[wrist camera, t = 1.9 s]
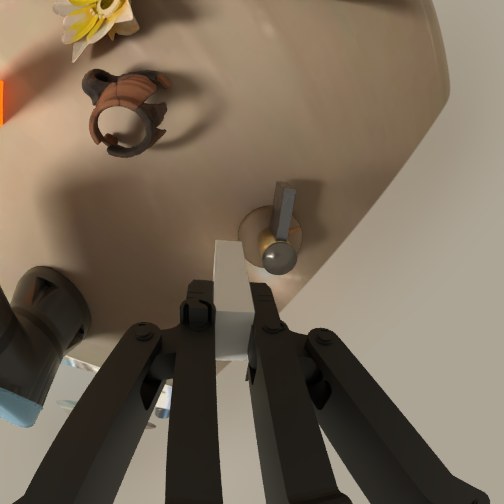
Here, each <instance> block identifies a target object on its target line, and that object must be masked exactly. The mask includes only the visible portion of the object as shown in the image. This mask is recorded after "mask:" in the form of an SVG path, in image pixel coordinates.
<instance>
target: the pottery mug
mask: <svg viewBox="0 0 504 504" xmlns="http://www.w3.org/2000/svg"><path fill="white" fill-rule="evenodd" d="M154 79H155V80H157V81H158V82H159V83H160V84H161V85H162V86H163V87H164V88H165V89H168V88H169V87H170V85H171V82H170V81H169V80H168V79H167V78H166V77H165V76H164V75H162V74H160V73H158V72H155V71H150V70H145V71H139V72H132V73H128V74H123V75H121V76H114V75H111V74H109V73H108V72H106V71H104V70H101V69H93V70H91V71H89V72H88V73H87V74H85V76H84V78H83V80H82V89H83V91H84V92H85V93H86V94H87V95H88V96H90V98H91V99H92V103H93V105H94V106H95V105H96V108H95V109H93V112H92V114H91V117H90V122H89V130H90V134H91V137H92V139H93V140H94V142H95V143H96V144H97V145H98V144H100V143H101V141H102V142H103V143H104V144H105V145H107V146H109V147H108V148H107V152H108V154H110V155H112V156H116V157H121V158H128V157H133V156H134V155H138V154H141V153H142V152H143V151H145V150H146V149H147V148H150V147H151V146H152V145H153V144H155V142H156V141H157V140H158V139H160V138H161V137H162V136H163V135H164V134H165V132H166V130H165V129H164V130H161V129H158V128H156V127H157V126H158V125H160V124H161V122H162V121H163V118H164V115H165V113H166V112H167V106H166V103H165V102H162V103H160V104H147V103H144V101H146V100H147V99H148V98H149V97H150V96H151V95H152V94H154V93H155V92H156V85H155V84H154V83H153V82H154ZM113 106H121V107H126V108H128V109H130V110H132V111H134V112H136V113H137V114H138V115H139V117H140V118H141V119H142V121H143V123H144V126H145V130H146V136H145V139H144V141H143V142H142V143H141V144H140V145H138V146H136V147H132V148H125V147H122V146H120V145H118V144H117V143H118V139H117V137H115V136H113V135H111V134H106V135H105V136H103V135H102V134H101V132H100V130H99V128H98V117H99V115H100V113H101V112H102V111H103V110H105V109H107V108H109V107H113Z"/></svg>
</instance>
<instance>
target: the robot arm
mask: <svg viewBox="0 0 504 504" xmlns="http://www.w3.org/2000/svg"><path fill="white" fill-rule="evenodd" d="M89 327H90V313H89V309H88V307H87V304H86V302H85V300H84V298H83V297H82V295H81V294H80V292H79V291H78V290H77V288H76V287H75V286H74V285H73V284H72V283H71V282H70V281H69V280H68V279H67V278H65V277H64V276H63V275H61V274H60V273H58V272H56V271H54V270H52V269H50V268H46V267H34V268H32V269H30V270H28V271H27V272H26V273H25V274H24V275H23V276H22V278H21V279H20V280H19V282H18V284H17V287H16V289H15V292H14V295H13V298H12V301H11V303H10V304H9V302H8V300H7V298H6V296H5V294H4V292H3V290H2V288H1V286H0V417H1V418H2V419H4V420H6V421H8V422H10V423H12V424H14V425H17V426H20V427H24V428H28V427H31V426H33V425H34V424H35V421H36V419H37V417H38V415H39V413H40V410H42V409H43V405H44V402H45V399H46V397H47V394H48V391H49V389H50V386H51V384H52V382H53V379H54V377H55V374H56V372H57V370H58V367H59V365H60V363H61V361H62V359H63V357H64V356H65V355H66V354H68V353H69V352H70V351H71V350H72V349H73V348H75V347H76V346H77V345H78V344H79V343H81V342H82V340H83V339H84V337H85V336H86V334H87V331H88V329H89ZM247 355H248V359H249V363H248V368H247V374H246V380H245V381H248V379H249V387H250V394H251V402H252V409H253V417H254V424H255V431H256V438H257V445H258V452H259V458H260V466H261V472H262V479H263V485H264V492H265V498H266V504H352V501H351V500H350V499H349V497H348V496H346V495H345V494H343V493H341V492H340V491H339V489H338V487H337V485H336V481H335V477H334V474H333V471H332V468H331V464H330V461H329V458H328V454H327V451H326V447H325V444H324V441H323V437H322V434H321V431H320V427H319V425H320V426H321V428H322V430H323V431H324V433H325V435H326V436H327V438H328V439H329V441H330V442H331V444H332V446H333V447H334V449H335V450H336V452H337V453H338V455H339V456H340V458H341V460H342V461H343V463H344V464H345V466H346V467H347V469H348V470H349V472H350V473H351V475H352V476H353V478H354V480H355V481H356V483H357V484H358V485H359V487H360V488H361V490H362V491H363V493H364V495H365V496H366V497H367V499H368V500H369V502H370V503H371V504H490V499H489V497H488V495H487V494H486V493H485V492H483V491H481V490H479V489H477V488H475V487H473V486H471V485H469V484H467V483H466V482H464V481H462V480H460V479H458V478H457V477H455V476H453V475H452V474H451V473H450V472H449V470H448V469H447V468H446V467H445V466H444V464H443V463H442V462H441V460H440V459H439V458H438V457H437V455H436V454H435V453H434V452H433V451H432V449H431V448H430V447H429V446H428V444H427V443H426V442H425V441H424V439H423V438H422V437H421V436H420V434H419V433H418V432H417V431H416V430H415V428H414V427H413V426H412V425H411V424H410V422H409V421H408V420H407V419H406V417H405V416H404V415H403V414H402V412H401V411H400V410H399V409H398V408H397V406H396V405H395V404H394V403H393V402H392V400H391V399H390V398H389V397H388V395H387V394H386V393H385V392H384V391H383V390H382V388H381V387H380V386H379V385H378V383H377V382H376V381H375V380H374V379H373V377H372V376H371V375H370V374H369V373H368V371H367V370H366V369H365V368H364V367H363V366H362V364H361V363H360V362H359V361H358V360H357V358H356V357H355V356H354V355H353V354H352V353H351V351H350V350H349V349H348V348H347V346H346V345H345V344H344V343H343V342H342V341H341V339H340V338H339V337H338V336H337V335H336V334H335V333H334V332H333V331H331V330H328V329H325V328H315V329H312V330H311V331H310V332H309V333H308V335H304V334H299V333H295V332H292V331H290V330H289V328H288V327H287V325H286V323H284V322H283V321H282V320H280V317H279V314H278V311H277V307H276V304H275V302H274V297H273V294H272V291H271V288H270V287H269V286H268V285H267V284H266V283H254V282H249V279H248V274H247V268H246V263H245V257H244V252H243V247H242V241H229V240H216V242H215V255H214V269H213V281H207V280H193V281H192V282H191V283H190V284H189V285H188V291H187V298H186V300H185V301H184V302H182V304H181V306H180V324H179V325H177V326H176V327H174V328H170V329H166V330H160V329H159V328H158V327H157V326H156V325H154V324H152V323H148V322H141V323H136V324H134V325H132V326H131V327H130V328H129V329H128V330H127V331H126V333H125V334H124V335H123V337H122V338H121V340H120V341H119V342H118V344H117V345H116V347H115V348H114V349H113V351H112V352H111V354H110V355H109V356H108V358H107V359H106V361H105V362H104V364H103V365H102V367H101V368H100V369H99V371H98V372H97V374H96V375H95V377H94V378H93V380H92V381H91V383H90V384H89V386H88V387H87V389H86V390H85V392H84V393H83V395H82V396H81V398H80V400H79V401H78V402H77V404H76V406H75V407H74V409H73V410H72V412H71V413H70V415H69V417H68V418H67V420H66V421H65V423H64V425H63V426H62V428H61V430H60V431H59V433H58V435H57V436H56V438H55V440H54V441H53V443H52V445H51V447H50V448H49V450H48V452H47V453H46V455H45V457H44V459H43V460H42V462H41V464H40V466H39V468H38V469H37V471H36V473H35V475H34V477H33V479H32V481H31V483H30V485H29V487H28V488H27V490H26V493H25V494H24V496H22V497H21V498H20V499H18V500H17V501H16V502H14V503H13V504H113V502H114V499H115V497H116V495H117V492H118V490H119V487H120V485H121V483H122V480H123V478H124V475H125V473H126V471H127V468H128V466H129V464H130V461H131V459H132V457H133V455H134V452H135V450H136V448H137V445H138V443H139V441H140V438H141V436H142V434H143V432H144V429H145V427H146V425H147V423H148V420H149V418H150V416H151V413H152V411H153V409H154V407H155V405H156V403H157V401H158V398H159V396H160V394H161V392H162V390H163V387H164V385H165V383H166V380H167V379H172V378H173V386H172V395H171V406H170V417H169V431H168V445H167V461H166V491H165V504H223V497H222V486H221V472H220V459H219V441H218V423H217V422H218V421H217V396H216V360H230V361H246V360H247ZM318 423H319V424H318Z"/></svg>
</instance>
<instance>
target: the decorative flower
mask: <svg viewBox="0 0 504 504" xmlns="http://www.w3.org/2000/svg"><path fill="white" fill-rule="evenodd" d="M130 4H131V0H59V1H57V2H56V3H54V5H53V12H54V13H56V14H58V15H61V16H66V17H65V19H64V20H63V28H64V29H65V32H64V34H63V36H62V41H63V43H64V44H70V43H73V42H74V44H73V54H72V63H74V62H75V61H76V59H77V58H78V57H79V56H80V55H81V53H82V52H83V51H84V49H85V48H86V46H87V45H88V44H89V43H95V42H96V41H98V40H99V39H100V38H102V37H103V36H104V35H105V34H106V33H108V35H109V37H110V39H111V40H112V41H113V39H114V35H115V32H116V33H117V34H119V35H132V34H133V33H135V32H137V31H138V30H139V26H138V23H137V21H136V19H135V17H134V15H133V14H132V8H131V5H130Z"/></svg>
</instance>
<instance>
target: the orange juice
mask: <svg viewBox="0 0 504 504" xmlns="http://www.w3.org/2000/svg"><path fill="white" fill-rule="evenodd" d="M2 125H3V81H0V126H2Z"/></svg>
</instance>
